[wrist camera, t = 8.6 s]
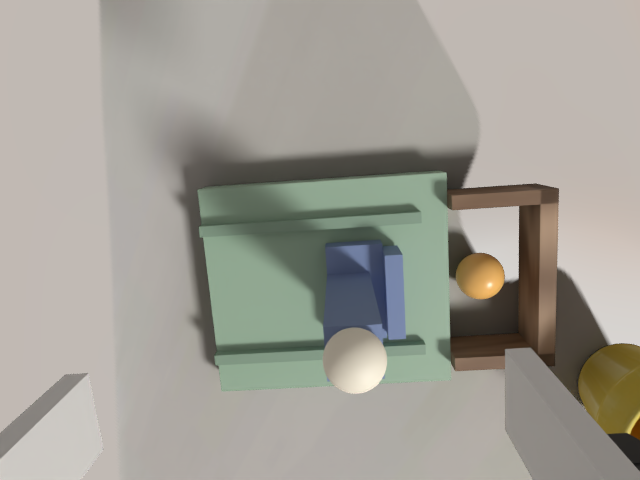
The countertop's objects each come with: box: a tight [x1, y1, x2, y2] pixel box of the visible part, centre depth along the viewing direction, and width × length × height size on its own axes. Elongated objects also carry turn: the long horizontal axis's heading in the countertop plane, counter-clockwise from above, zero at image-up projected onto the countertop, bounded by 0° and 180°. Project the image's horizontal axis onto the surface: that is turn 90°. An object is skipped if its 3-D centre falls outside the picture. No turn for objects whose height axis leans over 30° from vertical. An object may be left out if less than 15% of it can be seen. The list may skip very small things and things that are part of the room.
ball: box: [456, 253, 505, 299], centre depth 37 cm, size 4×4×4 cm
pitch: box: [197, 170, 451, 391], centre depth 38 cm, size 16×18×3 cm
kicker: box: [323, 240, 406, 394], centre depth 30 cm, size 7×5×14 cm
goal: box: [447, 184, 559, 371], centre depth 37 cm, size 13×7×4 cm, turn 4°
